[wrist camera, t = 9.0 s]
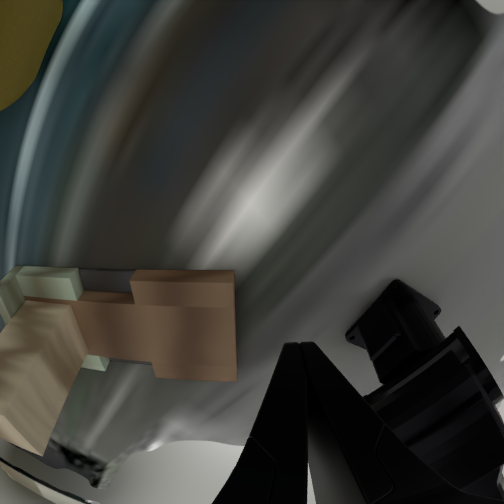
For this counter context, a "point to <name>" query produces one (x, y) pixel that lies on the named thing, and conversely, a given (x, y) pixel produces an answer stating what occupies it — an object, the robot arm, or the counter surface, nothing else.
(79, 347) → the beech block
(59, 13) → the flower pot
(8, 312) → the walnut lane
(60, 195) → the counter surface
